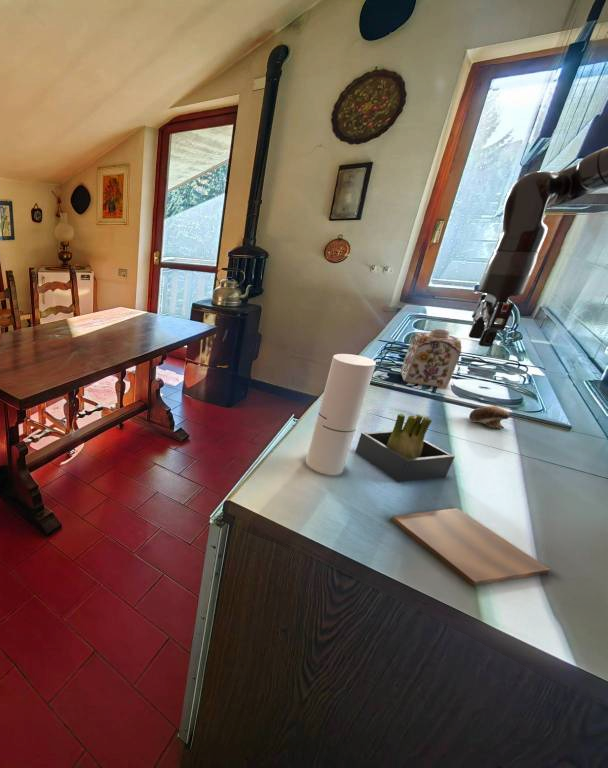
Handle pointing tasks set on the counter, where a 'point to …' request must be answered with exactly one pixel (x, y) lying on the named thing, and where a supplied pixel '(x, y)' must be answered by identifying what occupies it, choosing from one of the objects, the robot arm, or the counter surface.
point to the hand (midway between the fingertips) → (479, 341)
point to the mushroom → (489, 416)
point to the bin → (403, 458)
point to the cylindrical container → (339, 412)
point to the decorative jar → (431, 358)
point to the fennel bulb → (409, 436)
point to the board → (469, 546)
